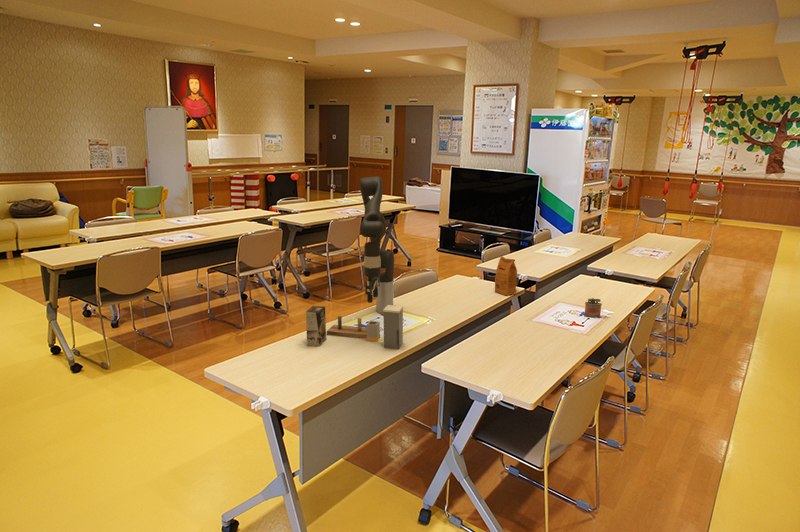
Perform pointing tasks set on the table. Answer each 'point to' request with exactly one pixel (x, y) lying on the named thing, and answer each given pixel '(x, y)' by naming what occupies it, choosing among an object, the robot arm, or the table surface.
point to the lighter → (593, 308)
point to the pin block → (348, 330)
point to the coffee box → (316, 325)
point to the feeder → (393, 326)
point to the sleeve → (373, 331)
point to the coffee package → (506, 277)
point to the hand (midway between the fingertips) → (372, 299)
